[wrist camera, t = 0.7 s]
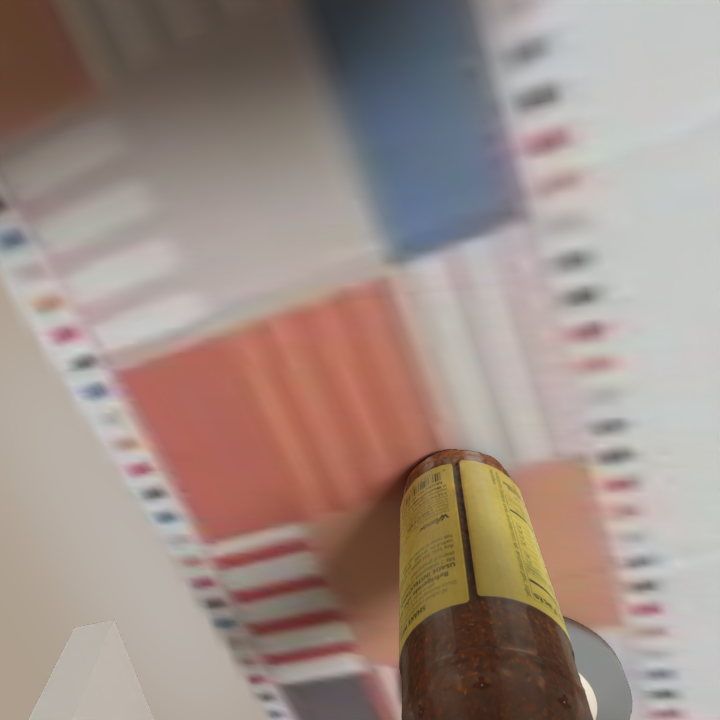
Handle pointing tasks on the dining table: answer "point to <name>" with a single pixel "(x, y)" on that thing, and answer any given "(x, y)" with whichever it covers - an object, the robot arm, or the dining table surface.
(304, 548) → the dining table surface
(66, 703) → the robot arm
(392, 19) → the dining table surface
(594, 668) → the grey round coaster
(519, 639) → the sauce bottle
